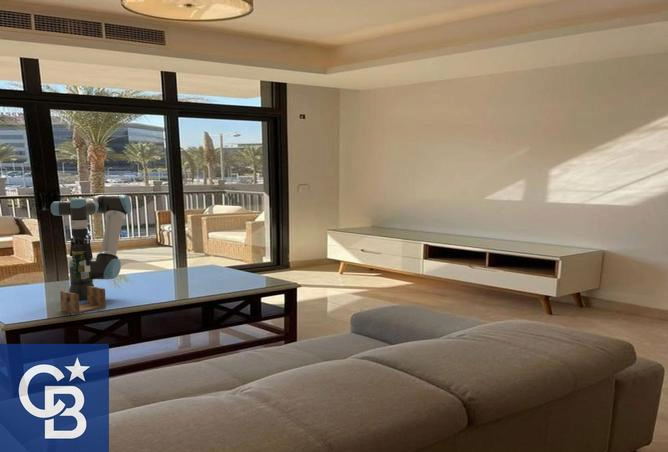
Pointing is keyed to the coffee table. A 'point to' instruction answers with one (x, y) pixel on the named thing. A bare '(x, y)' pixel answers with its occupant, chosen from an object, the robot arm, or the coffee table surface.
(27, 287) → the coffee table surface
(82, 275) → the coffee jar
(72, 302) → the holder
